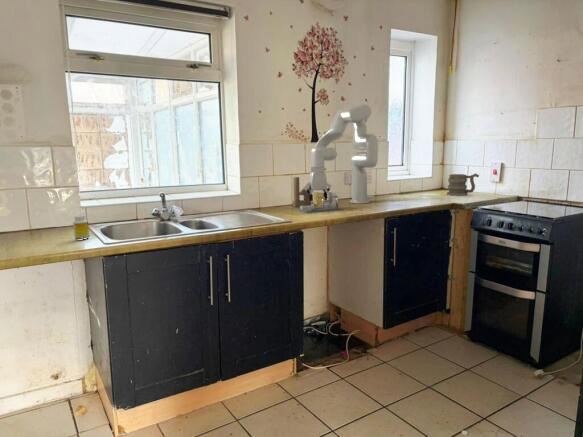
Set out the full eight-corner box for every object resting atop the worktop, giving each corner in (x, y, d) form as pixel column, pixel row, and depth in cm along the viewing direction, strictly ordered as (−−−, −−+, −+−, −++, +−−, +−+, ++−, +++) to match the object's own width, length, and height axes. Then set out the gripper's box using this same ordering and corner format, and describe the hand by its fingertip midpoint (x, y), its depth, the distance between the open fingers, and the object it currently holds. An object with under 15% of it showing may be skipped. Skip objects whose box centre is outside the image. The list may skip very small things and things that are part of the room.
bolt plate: (330, 207, 262) (330, 204, 262) (341, 209, 250) (341, 207, 250) (297, 210, 253) (297, 207, 253) (306, 213, 242) (306, 210, 241)
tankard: (445, 195, 303) (445, 173, 300) (450, 193, 313) (450, 172, 310) (475, 196, 291) (476, 174, 289) (479, 194, 302) (481, 172, 299)
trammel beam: (332, 205, 259) (331, 191, 257) (339, 207, 250) (339, 193, 249) (299, 208, 250) (299, 194, 249) (306, 210, 242) (305, 195, 241)
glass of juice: (91, 239, 187) (89, 215, 186) (78, 241, 183) (75, 217, 182) (86, 237, 191) (83, 214, 189) (72, 239, 187) (70, 216, 185)
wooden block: (311, 206, 269) (310, 176, 266) (295, 207, 265) (294, 177, 261) (308, 205, 272) (308, 176, 269) (292, 206, 268) (292, 177, 265)
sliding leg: (319, 206, 255) (319, 191, 254) (327, 208, 247) (326, 193, 246) (313, 206, 254) (313, 192, 252) (320, 208, 246) (320, 193, 244)
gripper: (328, 169, 256) (328, 198, 259) (301, 170, 249) (301, 200, 252) (334, 169, 249) (334, 200, 252) (306, 171, 242) (307, 202, 245)
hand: (318, 200), depth 252 cm, fingers open, 8 cm apart
